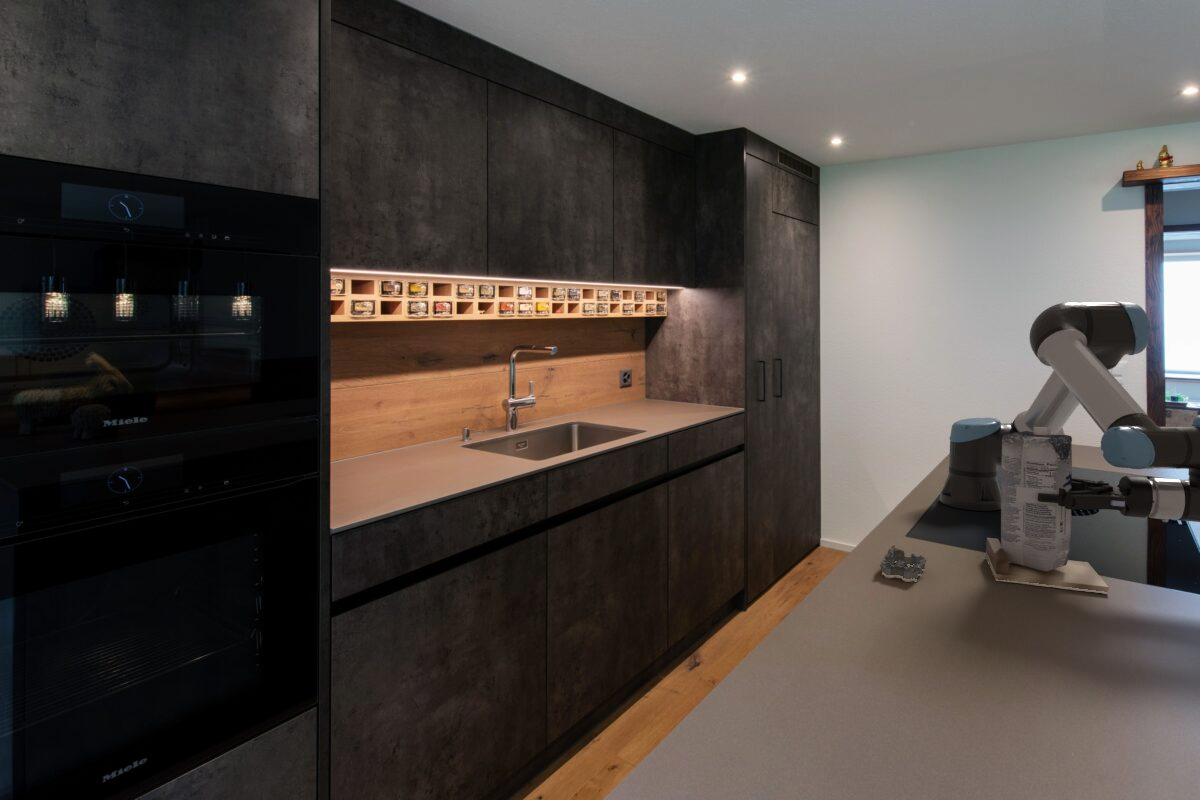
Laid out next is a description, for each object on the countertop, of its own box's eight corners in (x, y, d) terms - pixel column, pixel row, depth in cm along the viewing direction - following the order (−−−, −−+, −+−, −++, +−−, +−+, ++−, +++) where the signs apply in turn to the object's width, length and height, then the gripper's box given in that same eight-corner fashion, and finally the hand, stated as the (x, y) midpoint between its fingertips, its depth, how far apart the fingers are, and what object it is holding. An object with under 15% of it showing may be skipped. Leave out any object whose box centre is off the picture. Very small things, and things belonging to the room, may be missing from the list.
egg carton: (891, 562, 144) (892, 543, 144) (930, 570, 139) (931, 551, 139) (875, 577, 136) (876, 557, 135) (915, 586, 131) (916, 565, 131)
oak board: (995, 581, 133) (996, 573, 132) (985, 558, 145) (986, 551, 145) (1107, 594, 126) (1108, 587, 126) (1087, 569, 139) (1087, 562, 138)
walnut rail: (996, 573, 132) (997, 558, 132) (986, 551, 145) (986, 537, 145) (1007, 575, 132) (1008, 560, 131) (996, 552, 144) (997, 538, 144)
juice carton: (1048, 575, 129) (1051, 433, 127) (994, 560, 138) (995, 427, 136) (1075, 566, 133) (1078, 428, 131) (1021, 551, 142) (1023, 422, 140)
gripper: (1170, 535, 117) (1021, 521, 126) (1125, 502, 139) (1000, 492, 147) (1174, 492, 117) (1023, 481, 125) (1128, 465, 138) (1003, 458, 146)
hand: (1011, 487), depth 136 cm, fingers closed on juice carton, 11 cm apart
